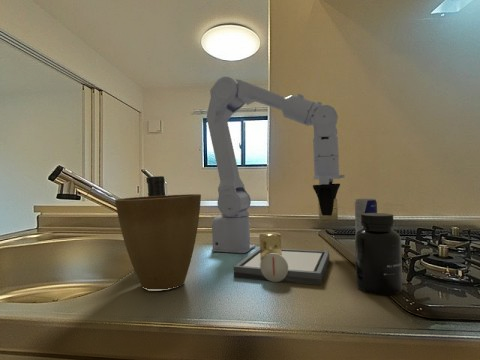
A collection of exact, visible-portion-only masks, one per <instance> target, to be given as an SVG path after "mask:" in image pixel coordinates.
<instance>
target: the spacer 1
mask: <svg viewBox="0 0 480 360" xmlns="http://www.w3.org/2000/svg"><path fill="white" fill-rule="evenodd" d="M259 248H260V259H261V260H262V259H263V258H264V257H265V256H266V255H267V254H270V253H277V254H279V255H281V256H282V251H281V249H282V234H281V233H280V232H273V231H271V232H270V231H269V232H262V233H259Z"/></svg>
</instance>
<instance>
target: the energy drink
mask: <svg viewBox="0 0 480 360" xmlns="http://www.w3.org/2000/svg"><path fill="white" fill-rule="evenodd" d="M364 213H378V201H377V199H375V198H356V199H355V201H354V219H355V220H354V222H355V234H356V233H357V232H358V231H359V230H361V229H362V225H361V223H360V222H361V214H364Z"/></svg>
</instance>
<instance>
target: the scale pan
mask: <svg viewBox="0 0 480 360" xmlns="http://www.w3.org/2000/svg"><path fill="white" fill-rule="evenodd" d="M282 256H283V257H284V258H285V260H286V261H287V264H288V269H289V270H302V271H315V270H316V268H317V266H318V264H319V261H320V259H321V257H322V253H308V252H289V251H282ZM261 261H262V260H261V259H260V253H259V254H258V255H256V256H255V257H254V258H253V259H251V260H250V261H249V262H248V263H246V264H245V265H244V266H249V267H260V265H261Z"/></svg>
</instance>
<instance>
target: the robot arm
mask: <svg viewBox="0 0 480 360" xmlns="http://www.w3.org/2000/svg"><path fill="white" fill-rule="evenodd" d="M209 91H210V100H209V104H208V108H207V111H206V121H207V124H208V131H209V135H210V141H211V144H212V148H213V153H214V158H215V162H216V168H217V171H218V177H219V185H218V187H217V192H218V198H217V202H216V204H217V208H218V210H219V212H220V213H221V215H217V216H215V217H214V218H213V219H212V225H211V235H212V236H211V239H212V240H211V241H212V249H211V252H216V253H217V252H218V253H234V254H235V253H236V254H247V252H249V251H251V250H253V248H255V247H256V245H255V244H251V237H250V213H249V211H248V209H249V208H250V206H251V202H252V199H251V196H250V194H249V193H248V191H247V190H246V187H245V184H244V182H243V180H242V179H241V177H240V173H239V168H238V164H237V159H236V156H235V155H236V154H235V151H234V146H233V142H232V137H231V132H230V127H229V123H228V122H229V120H230V118H231V117H232V115H234V114H235V113H236V112H238V111H239V110H240V109H242V108H243V106H245V105H247V106H248V105H250V104H253V103H259V104H261V105H265V106H268V107H271V108H275V109H277V110H280V111H281V112H282V114H283V117H284V118H285V119H288V120H291V121H294V122H297V123H299V124H302V125H305V126H308V127H309V126H312V127H313V139H312V145H313V146H312V147H313V174H314V175H313V180H318V184H313V185H312V188H313V191H314V192H315V194H316V197H317V201H318V200H319V204H320V209H321V213H322V215H328V216H331V215H332V212H333V205H334V199H337V194H338V192H339V188H340V187H341V183H334V180H337V179H343V178H344V179H345V174H340V164H339V163H340V162H339V137H338V129H337V124H338V119H339V116H338V113H337V111H336V110H335V108H334V107H333V106H332V105H329V104H322V103H323V102H321V101H317V102H315V101H312V100H309V99H306V98H304V95H303V94H301V93H298V94H297V95H295V94H292V95H289V96H287V97H285V96H284V95H280V94H277V93H275V92H272V91H270V90H267V89H265V88H263V87H260V86H258V85H256V84H252V83H250V82H247V81H244V80H242V79H238V78H237V79H236V78H235V79H233V78H232V77H230V76H222V77H220V78H218V79H217V80H216V82H215V83H214V84H213V85H212V87H211V88H210V90H209Z"/></svg>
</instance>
